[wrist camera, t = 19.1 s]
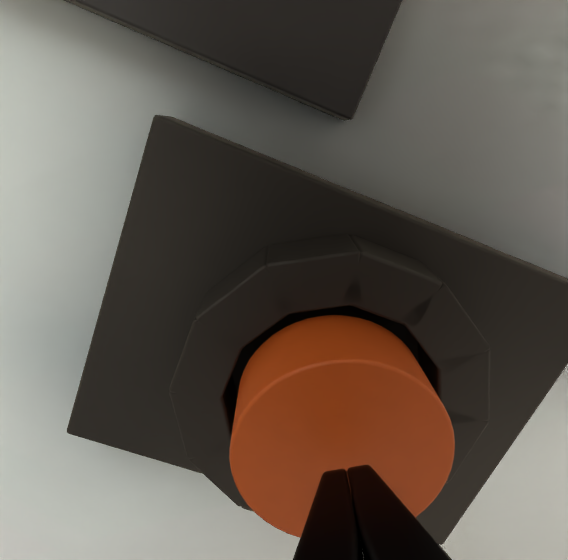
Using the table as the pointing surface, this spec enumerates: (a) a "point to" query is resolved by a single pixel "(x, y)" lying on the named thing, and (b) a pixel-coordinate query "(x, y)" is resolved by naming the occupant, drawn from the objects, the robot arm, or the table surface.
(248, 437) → the button
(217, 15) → the coffee maker
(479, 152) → the table surface
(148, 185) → the pad
